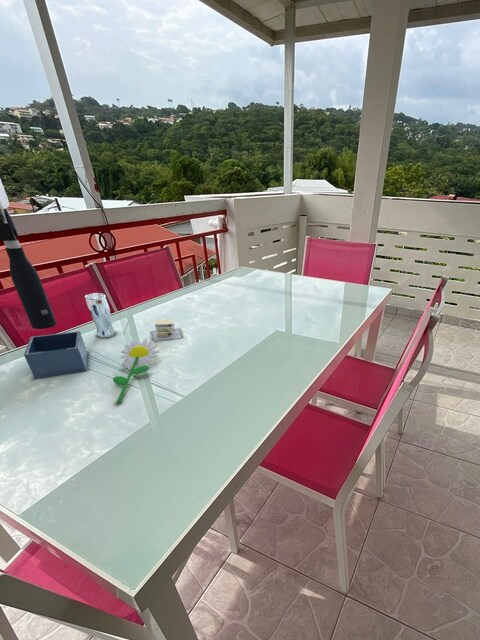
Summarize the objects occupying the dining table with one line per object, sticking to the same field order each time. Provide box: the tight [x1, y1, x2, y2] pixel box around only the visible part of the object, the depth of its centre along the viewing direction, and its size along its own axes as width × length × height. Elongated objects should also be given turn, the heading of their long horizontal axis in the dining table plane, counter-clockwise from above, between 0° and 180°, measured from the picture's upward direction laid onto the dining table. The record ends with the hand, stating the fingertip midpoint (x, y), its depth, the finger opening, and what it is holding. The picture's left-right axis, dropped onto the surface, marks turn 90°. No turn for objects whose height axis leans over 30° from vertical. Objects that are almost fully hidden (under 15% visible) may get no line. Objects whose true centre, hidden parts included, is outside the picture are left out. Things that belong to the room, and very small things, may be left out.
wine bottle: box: [3, 214, 57, 330], centre depth 94 cm, size 6×6×30 cm
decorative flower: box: [112, 338, 161, 404], centre depth 103 cm, size 13×5×30 cm
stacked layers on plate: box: [151, 318, 182, 342], centre depth 128 cm, size 10×9×6 cm
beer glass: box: [84, 292, 116, 338], centre depth 123 cm, size 7×7×15 cm
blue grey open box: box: [23, 330, 88, 379], centre depth 105 cm, size 14×14×8 cm
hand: (9, 238), depth 88 cm, fingers closed on wine bottle, 3 cm apart
